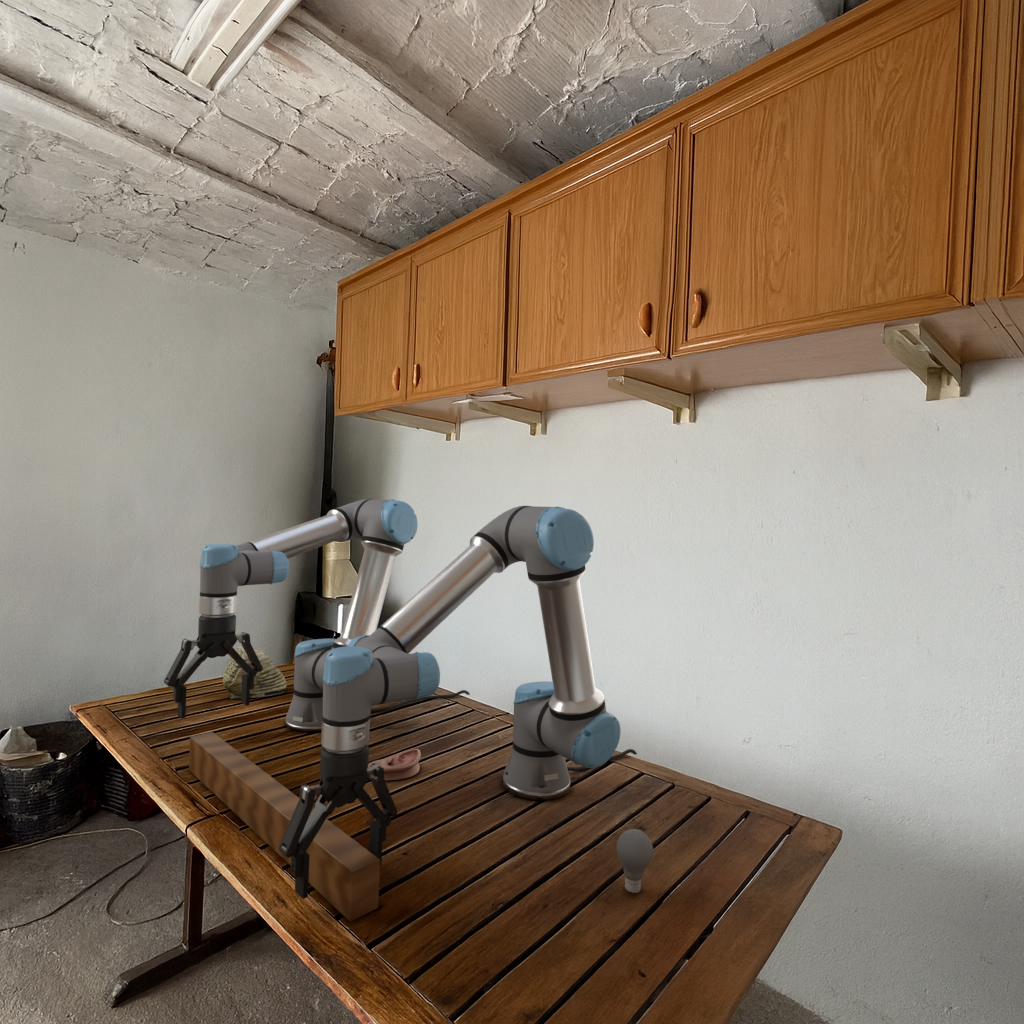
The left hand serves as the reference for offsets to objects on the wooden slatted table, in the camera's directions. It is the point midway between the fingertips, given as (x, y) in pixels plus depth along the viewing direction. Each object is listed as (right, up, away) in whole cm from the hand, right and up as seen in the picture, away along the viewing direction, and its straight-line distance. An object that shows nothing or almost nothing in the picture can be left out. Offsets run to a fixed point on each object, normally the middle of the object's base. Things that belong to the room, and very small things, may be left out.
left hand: (214, 710), depth 140 cm
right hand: (+38, -15, -38) cm, 56 cm away
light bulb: (+86, -20, -34) cm, 95 cm away
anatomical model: (+37, -17, +7) cm, 42 cm away
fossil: (-15, -13, +58) cm, 61 cm away
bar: (+19, -16, -19) cm, 31 cm away
